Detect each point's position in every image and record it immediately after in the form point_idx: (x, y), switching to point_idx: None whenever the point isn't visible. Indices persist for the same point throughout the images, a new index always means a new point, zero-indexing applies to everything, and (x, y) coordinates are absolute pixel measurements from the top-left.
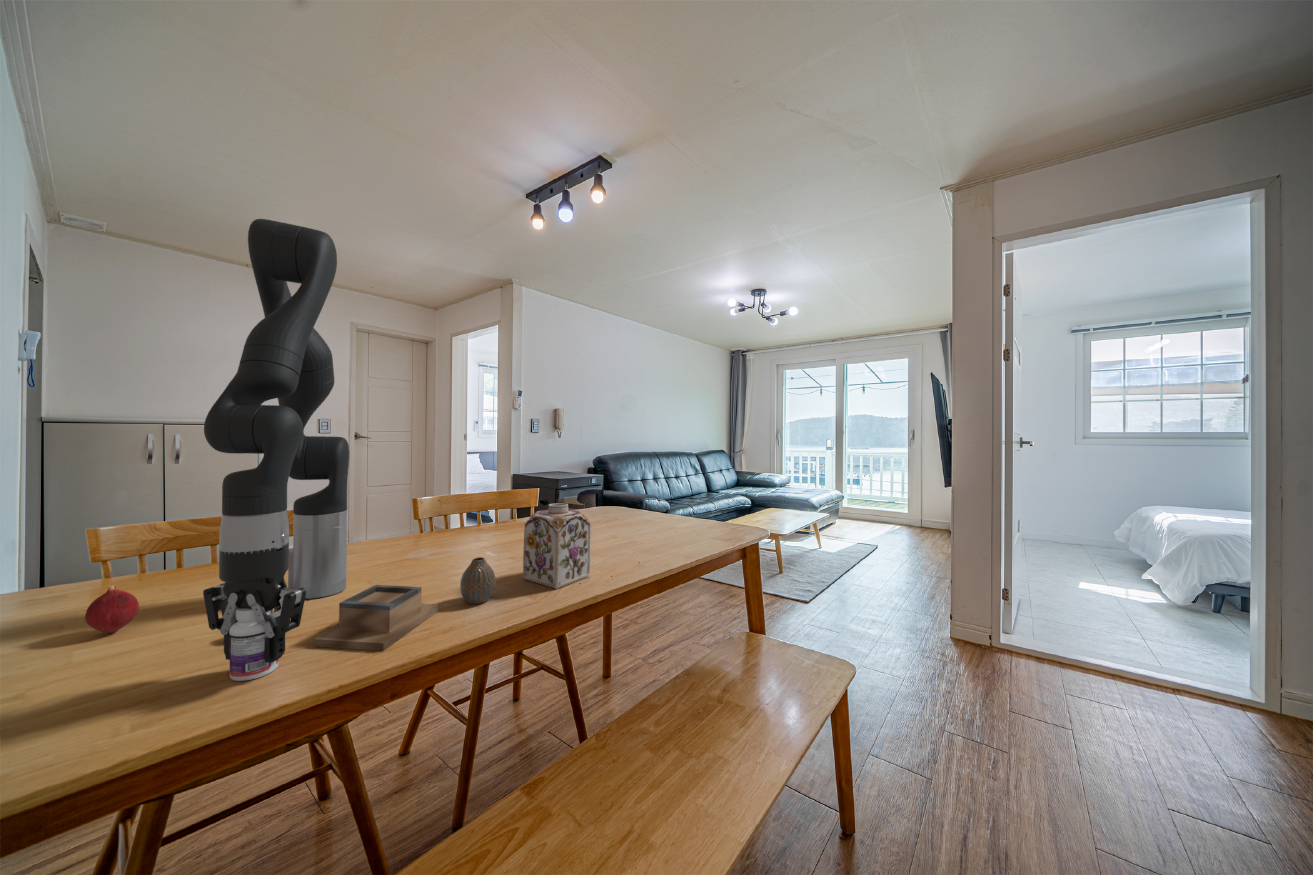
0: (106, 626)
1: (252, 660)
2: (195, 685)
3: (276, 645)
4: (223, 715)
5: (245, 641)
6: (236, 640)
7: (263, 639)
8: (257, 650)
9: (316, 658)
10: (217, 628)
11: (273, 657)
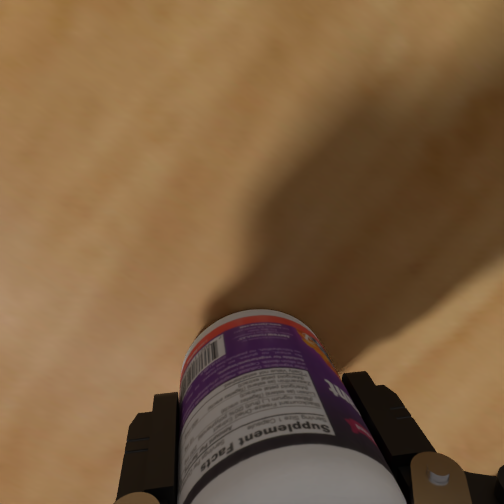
0: None
1: (206, 375)
2: (379, 258)
3: (122, 466)
4: (50, 110)
5: (235, 433)
6: (287, 425)
7: (183, 477)
8: (194, 417)
9: (117, 480)
10: (497, 478)
11: (147, 416)
